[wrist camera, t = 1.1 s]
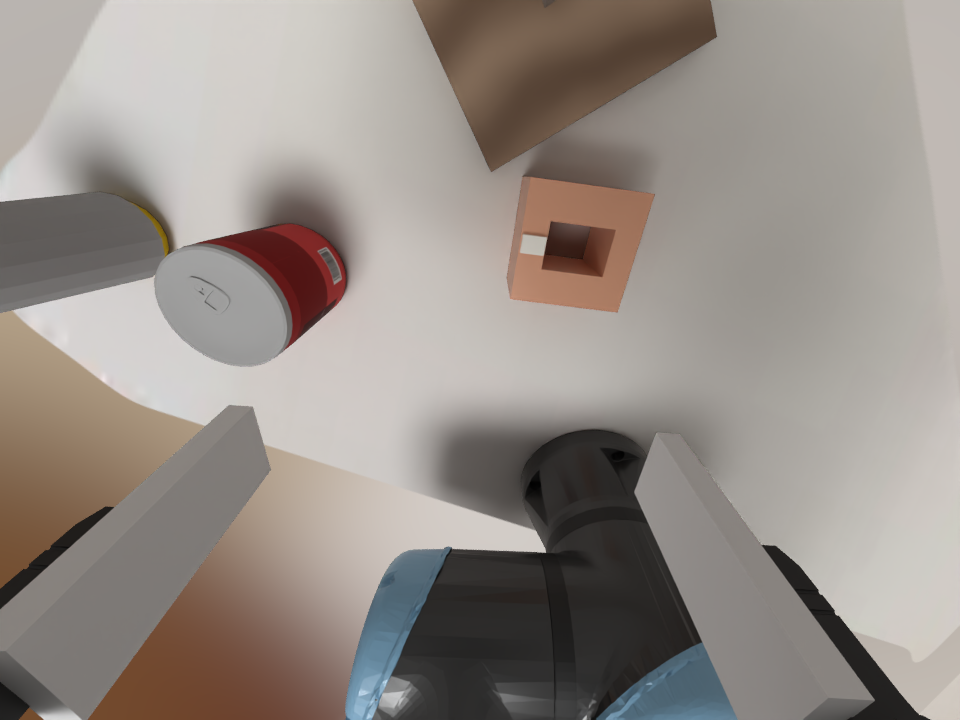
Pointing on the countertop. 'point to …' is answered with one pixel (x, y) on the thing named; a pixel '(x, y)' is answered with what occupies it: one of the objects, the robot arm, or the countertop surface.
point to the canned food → (249, 291)
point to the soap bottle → (74, 247)
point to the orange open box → (606, 252)
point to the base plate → (553, 59)
